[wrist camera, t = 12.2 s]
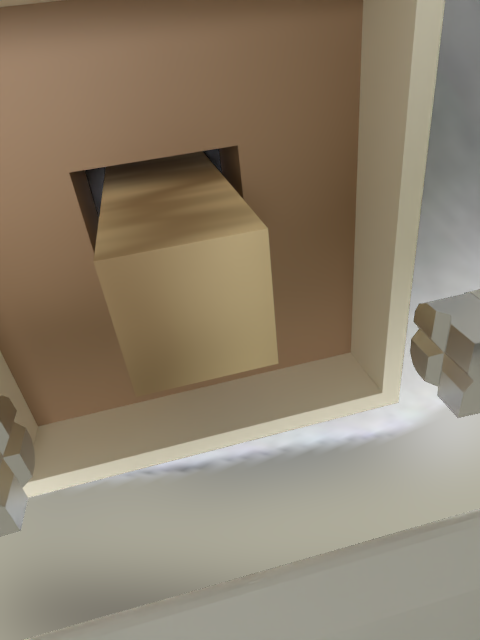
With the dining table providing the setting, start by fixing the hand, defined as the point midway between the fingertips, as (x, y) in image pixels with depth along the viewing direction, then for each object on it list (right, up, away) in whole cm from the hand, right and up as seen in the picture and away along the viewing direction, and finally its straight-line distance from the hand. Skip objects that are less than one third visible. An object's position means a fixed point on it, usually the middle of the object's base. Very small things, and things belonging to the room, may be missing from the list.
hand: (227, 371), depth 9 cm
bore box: (-3, +6, +11) cm, 13 cm away
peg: (-3, +6, +11) cm, 13 cm away
